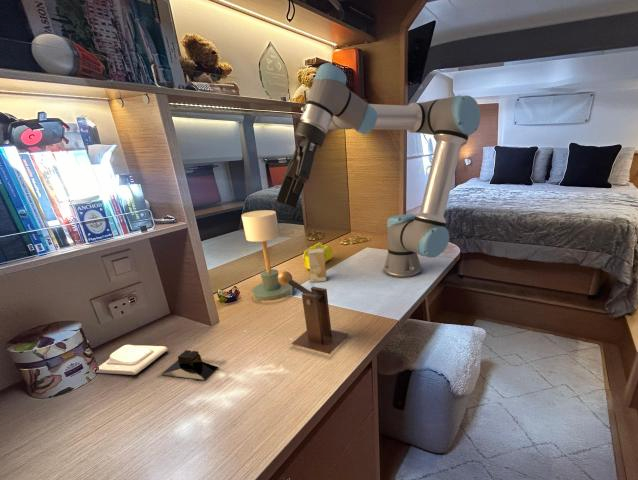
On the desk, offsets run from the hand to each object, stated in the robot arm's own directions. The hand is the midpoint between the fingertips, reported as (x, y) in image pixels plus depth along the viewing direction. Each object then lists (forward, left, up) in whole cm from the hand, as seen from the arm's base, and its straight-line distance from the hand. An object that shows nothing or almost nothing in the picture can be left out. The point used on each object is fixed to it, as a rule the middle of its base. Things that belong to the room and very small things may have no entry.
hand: (284, 204), depth 91 cm
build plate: (+30, -12, -36) cm, 48 cm away
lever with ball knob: (+8, +6, -22) cm, 24 cm away
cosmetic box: (-30, -14, -36) cm, 49 cm away
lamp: (-12, -22, -36) cm, 44 cm away
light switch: (+34, -30, -36) cm, 58 cm away
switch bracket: (+8, +12, -36) cm, 39 cm away
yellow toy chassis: (-45, -24, -36) cm, 63 cm away
